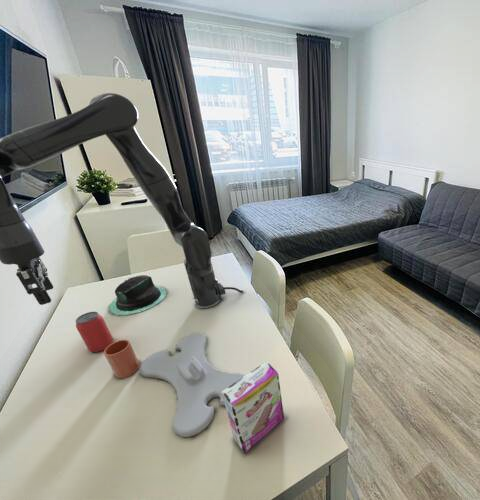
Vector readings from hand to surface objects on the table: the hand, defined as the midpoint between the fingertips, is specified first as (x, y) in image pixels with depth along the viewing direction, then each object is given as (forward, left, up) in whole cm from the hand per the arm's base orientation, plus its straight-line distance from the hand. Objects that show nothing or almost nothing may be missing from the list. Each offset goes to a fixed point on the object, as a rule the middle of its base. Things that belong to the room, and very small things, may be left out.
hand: (47, 296), depth 72 cm
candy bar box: (-30, +55, -26) cm, 67 cm away
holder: (-23, +28, -26) cm, 44 cm away
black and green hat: (-18, -28, -26) cm, 42 cm away
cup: (-9, +12, -25) cm, 29 cm away
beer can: (-4, -6, -26) cm, 27 cm away
